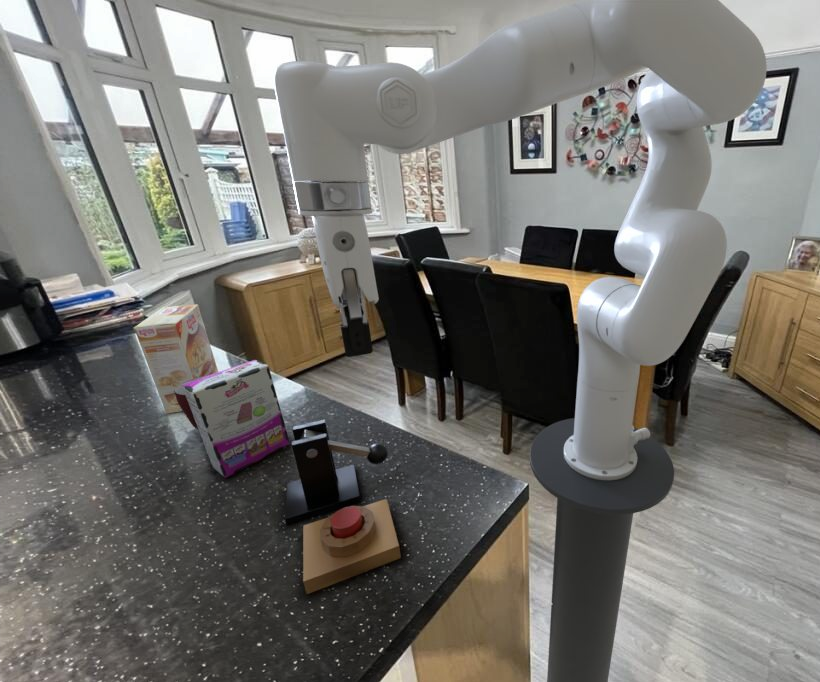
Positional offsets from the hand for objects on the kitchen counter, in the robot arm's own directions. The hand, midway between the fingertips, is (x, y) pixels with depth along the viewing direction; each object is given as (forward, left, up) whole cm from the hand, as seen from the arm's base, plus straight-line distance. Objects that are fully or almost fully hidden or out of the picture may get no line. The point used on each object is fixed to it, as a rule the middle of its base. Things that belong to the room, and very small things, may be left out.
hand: (359, 352), depth 50 cm
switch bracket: (+8, -6, -25) cm, 27 cm away
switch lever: (+4, -6, -19) cm, 20 cm away
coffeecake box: (+33, -53, -25) cm, 67 cm away
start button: (+5, +6, -21) cm, 23 cm away
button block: (+5, +6, -25) cm, 26 cm away
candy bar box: (+19, -22, -25) cm, 39 cm away
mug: (+26, -36, -25) cm, 51 cm away
